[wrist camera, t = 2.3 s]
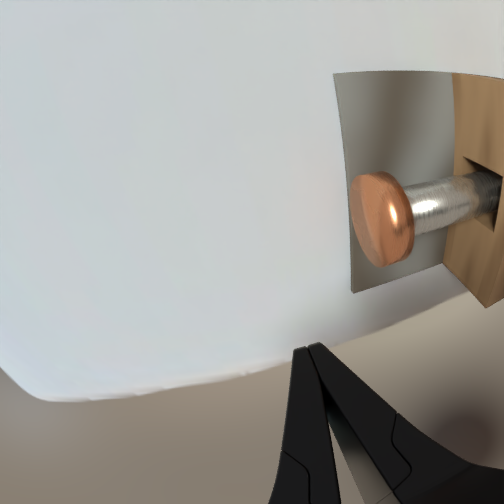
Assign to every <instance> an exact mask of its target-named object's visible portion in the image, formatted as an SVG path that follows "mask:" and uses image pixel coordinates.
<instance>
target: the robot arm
mask: <svg viewBox="0 0 504 504" xmlns="http://www.w3.org/2000/svg"><path fill="white" fill-rule="evenodd" d="M328 422H329V424H330V427H331V429H332V431H333V433H334V436H335V438H336V440H337V442H338V444H339V446H340V449H341V451H342V453H343V456H344V458H345V460H346V462H347V465H348V467H349V469H350V471H351V473H352V476H353V478H354V480H355V482H356V485H357V487H358V489H359V491H360V494H361V496H362V498H363V500H364V502H365V504H504V470H502V469H497V468H491V467H486V466H481V465H477V464H474V463H471V462H469V461H466V460H464V459H462V458H461V457H459V456H457V455H456V454H454V453H453V452H451V451H450V450H448V449H446V448H445V447H443V446H442V445H440V444H439V443H437V442H435V441H434V440H432V439H431V438H429V437H428V436H427V435H425V434H424V433H422V432H421V431H419V430H418V429H417V428H416V427H414V426H413V425H412V424H411V423H410V422H408V421H407V420H406V419H405V418H404V417H403V416H401V415H400V414H399V413H397V412H396V410H395V409H393V408H392V407H391V406H390V405H389V404H388V403H387V402H386V401H385V400H383V399H382V398H381V397H380V396H379V395H378V394H377V393H376V392H375V391H373V390H372V389H371V388H370V387H369V386H368V385H367V384H366V383H365V382H363V381H362V380H361V379H360V378H359V377H357V375H356V374H355V373H353V372H352V371H351V370H350V369H349V368H348V367H347V366H346V365H345V364H344V363H343V362H341V361H340V360H339V359H338V358H337V357H336V356H335V355H334V354H333V353H332V352H330V351H329V350H328V349H327V348H326V347H325V346H324V345H323V344H322V343H320V342H318V343H314V344H311V345H308V346H307V347H305V346H304V347H300V348H297V349H294V351H293V359H292V368H291V377H290V386H289V395H288V402H287V411H286V418H285V426H284V434H283V440H282V447H281V450H282V451H281V453H280V460H279V466H278V471H277V476H276V480H275V484H274V487H273V491H272V494H271V497H270V500H269V503H268V504H341V498H340V491H339V484H338V478H337V471H336V465H335V459H334V453H333V447H332V441H331V435H330V429H329V424H328Z"/></svg>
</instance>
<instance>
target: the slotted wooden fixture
mask: <svg viewBox="0 0 504 504" xmlns="http://www.w3.org/2000/svg"><path fill="white" fill-rule="evenodd" d="M333 77H334V83H335V89H336V95H337V102H338V109H339V116H340V123H341V131H342V139H343V148H344V158H345V168H346V179H347V192H348V207H349V225H350V251H351V291H352V292H353V294H354V293H357V292H360V291H363V290H366V289H369V288H372V287H375V286H378V285H381V284H384V283H387V282H390V281H393V280H396V279H399V278H402V277H405V276H408V275H411V274H413V273H416V272H419V271H422V270H424V269H427V268H430V267H433V266H435V265H438V264H441V263H443V264H444V265H445V266H446V267H447V268H448V269H449V270H450V271H451V272H452V273H453V274H454V275H455V276H456V277H457V278H458V279H459V280H460V281H461V282H462V283H463V284H464V285H465V286H466V287H467V289H468V290H469V291H470V292H471V293H472V294H473V295H474V296H475V297H476V298H477V299H478V300H479V302H480V303H481V304H482V305H483V306H484V307H485V308H487V307H489V306H491V305H493V304H494V303H496V302H498V301H499V300H501V299H503V298H504V79H501V78H495V77H488V76H480V75H472V74H462V73H450V72H434V71H366V72H350V73H337V74H333ZM487 169H490V170H492V171H494V172H496V173H498V174H499V175H501V176H503V182H502V189H501V196H500V203H499V209H498V210H496V211H493V212H490V213H487V214H484V215H481V216H478V217H474V218H471V219H468V220H465V221H462V222H459V223H456V224H453V225H449V226H446V227H443V228H440V229H437V230H433V231H430V232H427V233H424V234H420V235H417V236H415V238H414V245H413V249H412V252H411V254H410V255H409V257H408V258H407V259H406V260H404V261H401V262H398V263H395V264H392V265H389V266H385V267H382V268H379V267H376V266H375V265H373V264H372V263H371V262H370V261H369V259H368V258H367V257H366V255H365V253H364V252H363V250H362V248H361V245H360V243H359V241H358V238H357V235H356V232H355V229H354V225H353V221H352V216H351V210H350V188H351V184H352V182H353V180H354V178H355V177H356V176H359V175H363V174H368V173H373V172H378V171H385V172H387V173H389V174H391V175H392V176H393V177H394V178H395V179H396V180H397V181H398V182H399V184H400V185H401V187H404V186H409V185H413V184H418V183H423V182H428V181H432V180H437V179H442V178H447V177H452V176H457V175H462V174H467V173H472V172H477V171H482V170H487Z"/></svg>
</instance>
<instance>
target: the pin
mask: <svg viewBox="0 0 504 504" xmlns="http://www.w3.org/2000/svg"><path fill="white" fill-rule="evenodd" d="M502 182H503V176H501V175H499V174H498V173H496V172H494V171H492V170H490V169H487V170H482V171H477V172H472V173H467V174H462V175H457V176H452V177H447V178H442V179H437V180H432V181H428V182H423V183H418V184H413V185H409V186H404V187H401V185H400V184H399V182H398V181H397V180H396V179H395V178H394V177H393V176H392V175H391V174H389V173H387V172H385V171H378V172H373V173H368V174H363V175H359V176H356V177H355V178H354V180H353V182H352V184H351V188H350V210H351V216H352V221H353V225H354V229H355V232H356V235H357V238H358V241H359V243H360V245H361V248H362V250H363V252H364V253H365V255H366V257H367V258H368V259H369V261H370V262H371V263H372V264H373V265H375V266H376V267H379V268H382V267H385V266H389V265H392V264H395V263H398V262H401V261H404V260H406V259H407V258H408V257H409V255H410V254H411V252H412V249H413V245H414V238H415V236H417V235H420V234H424V233H427V232H430V231H433V230H437V229H440V228H443V227H446V226H449V225H453V224H456V223H459V222H462V221H465V220H468V219H471V218H474V217H478V216H481V215H484V214H487V213H490V212H493V211H496V210H498V209H499V203H500V196H501V189H502Z"/></svg>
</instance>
